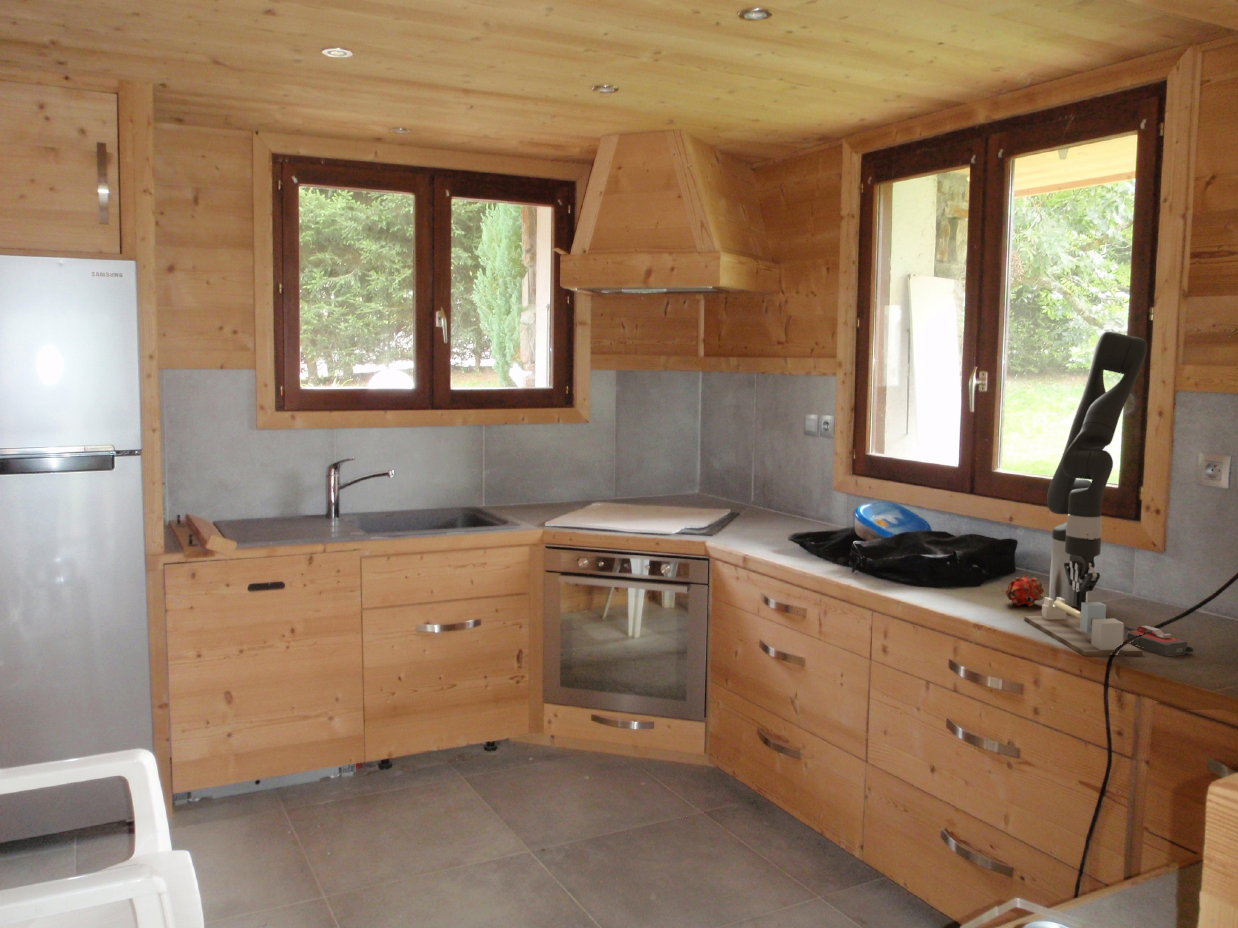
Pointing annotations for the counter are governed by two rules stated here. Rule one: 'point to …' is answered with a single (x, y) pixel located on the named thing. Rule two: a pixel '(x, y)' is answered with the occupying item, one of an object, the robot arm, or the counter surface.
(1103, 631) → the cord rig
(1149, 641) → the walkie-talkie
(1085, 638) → the board
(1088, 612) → the sleeve
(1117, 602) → the counter surface
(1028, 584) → the dragon fruit
